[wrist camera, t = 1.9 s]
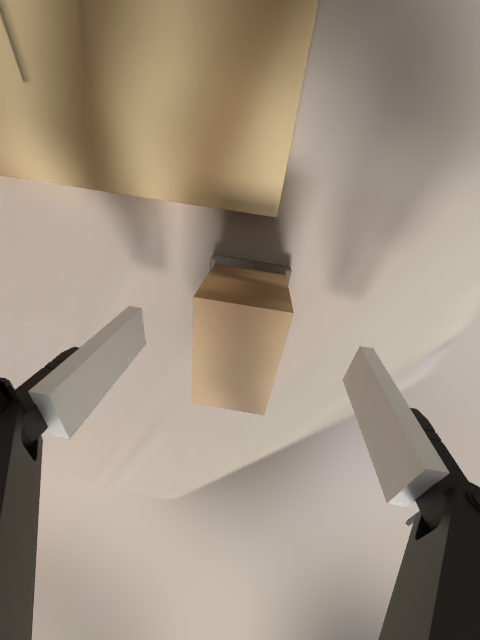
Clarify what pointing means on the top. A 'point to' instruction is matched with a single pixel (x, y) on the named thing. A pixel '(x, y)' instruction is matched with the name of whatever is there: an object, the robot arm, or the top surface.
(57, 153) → the board
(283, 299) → the block
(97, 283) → the top surface
